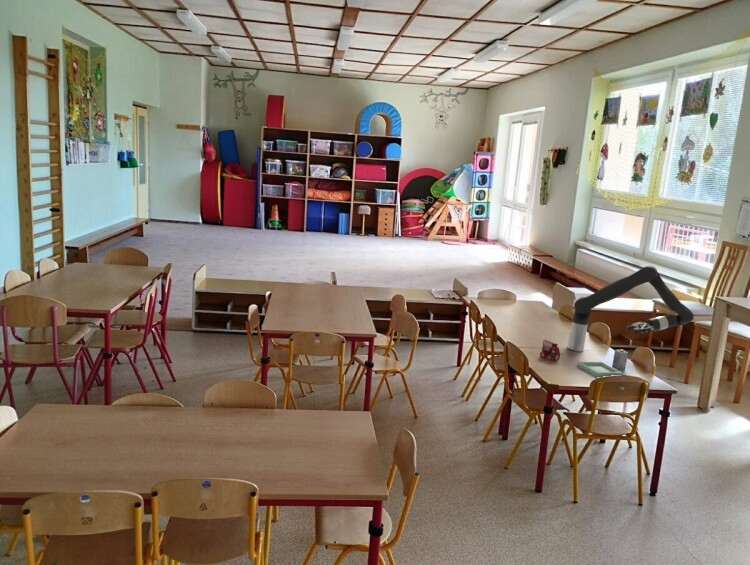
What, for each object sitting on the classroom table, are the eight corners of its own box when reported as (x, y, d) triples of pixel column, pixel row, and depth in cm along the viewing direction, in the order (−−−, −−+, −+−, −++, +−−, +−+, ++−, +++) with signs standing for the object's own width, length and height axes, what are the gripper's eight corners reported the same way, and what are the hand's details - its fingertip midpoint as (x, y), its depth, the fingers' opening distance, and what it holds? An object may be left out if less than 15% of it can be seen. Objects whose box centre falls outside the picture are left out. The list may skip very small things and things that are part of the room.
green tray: (577, 366, 345) (577, 361, 344) (600, 366, 350) (601, 361, 349) (596, 378, 328) (597, 372, 328) (621, 377, 333) (622, 372, 332)
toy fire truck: (554, 363, 347) (556, 346, 345) (537, 356, 357) (539, 339, 355) (561, 361, 351) (564, 344, 349) (544, 355, 361) (547, 338, 359)
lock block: (611, 368, 349) (615, 348, 346) (619, 367, 350) (622, 348, 348) (617, 371, 344) (621, 351, 342) (624, 371, 346) (628, 351, 343)
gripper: (649, 315, 351) (623, 321, 350) (663, 320, 337) (635, 326, 336) (651, 327, 352) (625, 333, 351) (665, 332, 338) (637, 339, 337)
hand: (630, 330), depth 344 cm, fingers open, 8 cm apart
